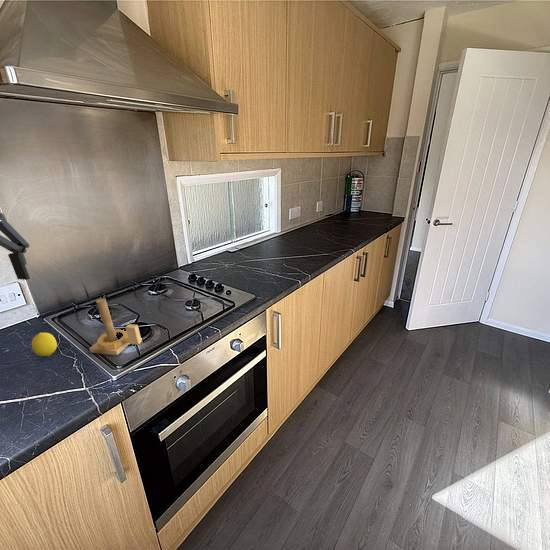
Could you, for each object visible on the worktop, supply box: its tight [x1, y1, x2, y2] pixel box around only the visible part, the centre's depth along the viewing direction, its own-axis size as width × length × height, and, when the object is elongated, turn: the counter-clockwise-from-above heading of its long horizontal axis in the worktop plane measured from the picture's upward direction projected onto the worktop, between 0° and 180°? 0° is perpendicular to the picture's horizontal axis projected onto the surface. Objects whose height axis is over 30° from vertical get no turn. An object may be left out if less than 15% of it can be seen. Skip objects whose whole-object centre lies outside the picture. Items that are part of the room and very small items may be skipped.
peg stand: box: [89, 297, 131, 356], centre depth 87 cm, size 9×9×16 cm
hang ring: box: [96, 323, 143, 349], centre depth 88 cm, size 13×8×6 cm, turn 79°
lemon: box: [31, 332, 58, 357], centre depth 84 cm, size 6×6×8 cm
